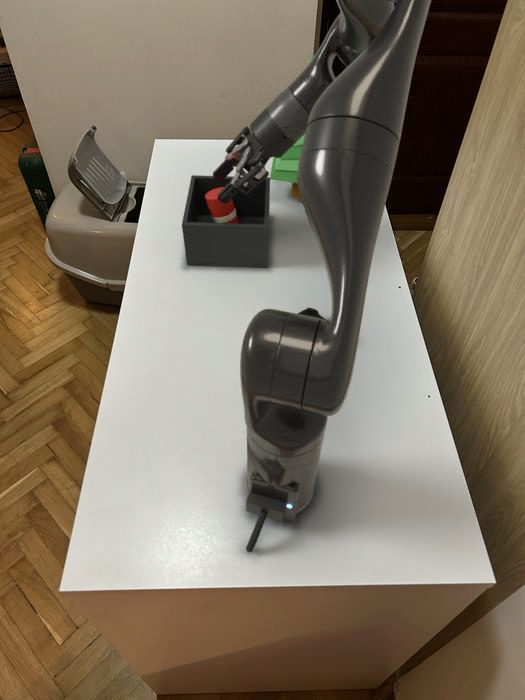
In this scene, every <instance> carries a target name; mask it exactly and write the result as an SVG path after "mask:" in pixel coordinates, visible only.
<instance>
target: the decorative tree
mask: <svg viewBox="0 0 525 700" xmlns="http://www.w3.org/2000/svg"><path fill="white" fill-rule="evenodd" d="M314 56H315V52H314V50H312V53H311V55H310V59H309V62H308V64H309V63H310V62H311V60H312V59H313V58H314ZM304 137H305V134H304V135H303V136H302V137H301V138H300V139H299V140H298V141H297V142H296V143H295V144H294V145H293V146H292V147H291V148H290V149H289V150H288V151H287V152H286V153H285V154H284V155H283V156H282V157H280V158H275V157H272V164H271V170H270V173H269V178H270V181H279V182H286V183H291V197H292V198H294V199H296V200H298V201H300V202H302V200H301V197H300V194H299V189H298V183H297V170H298V165H299V160H300V156H301V151H302V147H303V142H304Z"/></svg>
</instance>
